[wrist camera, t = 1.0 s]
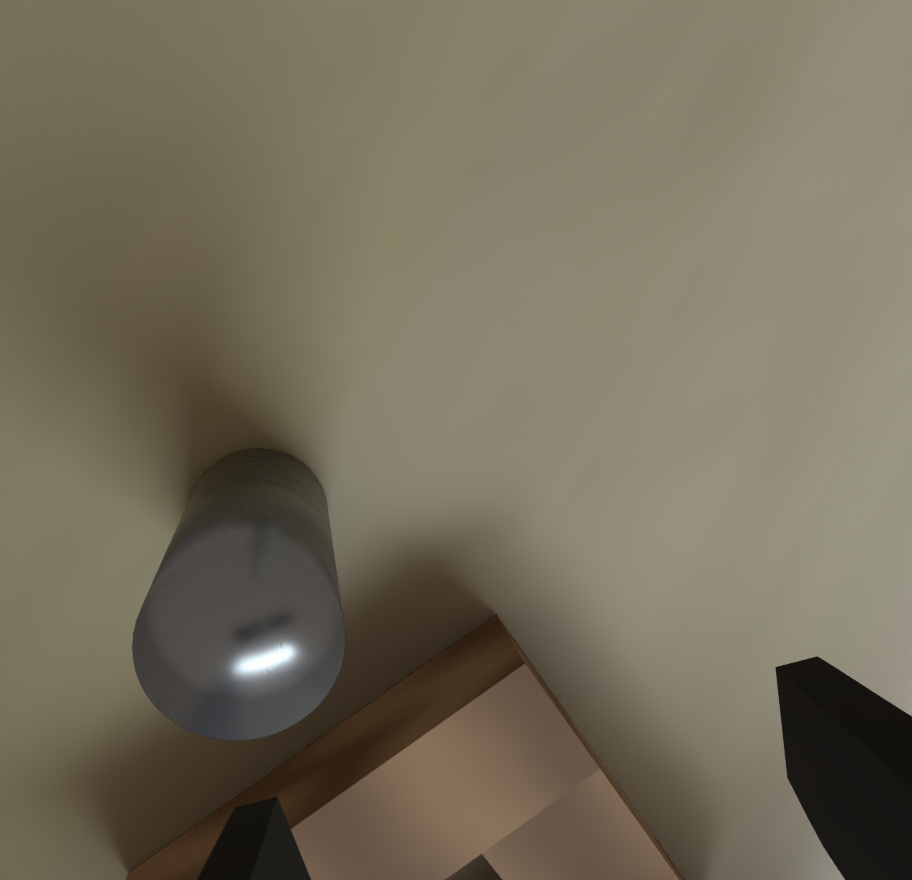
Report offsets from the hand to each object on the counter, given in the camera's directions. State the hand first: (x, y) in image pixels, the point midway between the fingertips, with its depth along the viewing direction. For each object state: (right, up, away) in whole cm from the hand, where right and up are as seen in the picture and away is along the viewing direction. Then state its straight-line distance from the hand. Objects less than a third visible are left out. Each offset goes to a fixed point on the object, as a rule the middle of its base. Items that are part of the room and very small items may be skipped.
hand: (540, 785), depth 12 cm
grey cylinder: (-7, +3, +13) cm, 15 cm away
